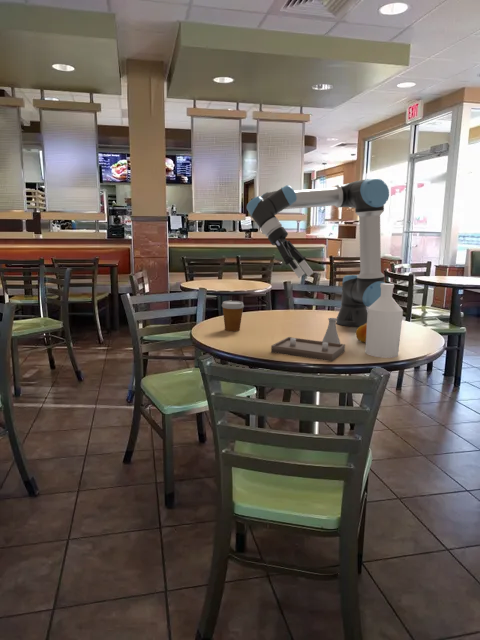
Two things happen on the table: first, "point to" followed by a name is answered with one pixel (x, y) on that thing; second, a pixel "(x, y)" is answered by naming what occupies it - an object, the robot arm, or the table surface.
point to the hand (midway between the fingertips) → (306, 275)
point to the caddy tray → (308, 348)
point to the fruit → (361, 333)
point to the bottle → (384, 325)
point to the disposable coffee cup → (232, 315)
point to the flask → (331, 332)
